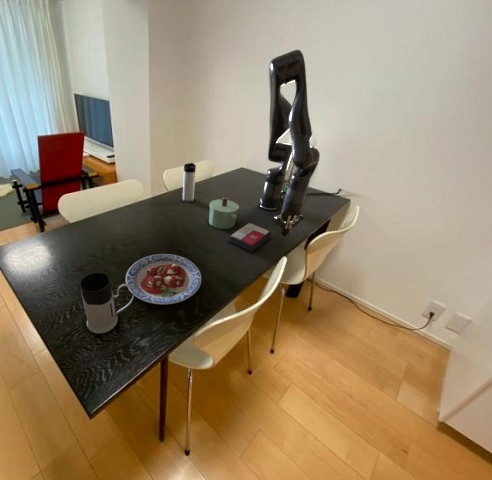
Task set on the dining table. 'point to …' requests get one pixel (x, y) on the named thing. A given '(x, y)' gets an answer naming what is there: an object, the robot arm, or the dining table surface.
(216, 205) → the pot lid
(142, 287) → the ceramic plate
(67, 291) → the dining table surface
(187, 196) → the travel mug
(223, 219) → the pot
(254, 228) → the black square box
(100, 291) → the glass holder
